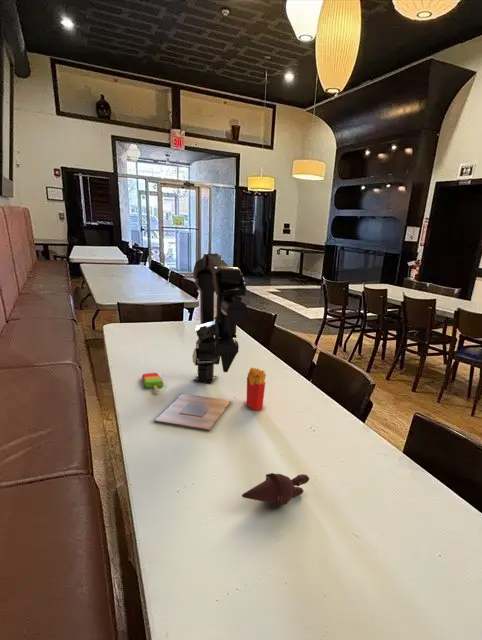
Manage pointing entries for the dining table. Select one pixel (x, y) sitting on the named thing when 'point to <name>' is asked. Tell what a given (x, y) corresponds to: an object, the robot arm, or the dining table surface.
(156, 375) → the popsicle
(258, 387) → the french fries
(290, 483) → the icecream
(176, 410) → the placemat
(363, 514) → the dining table surface
